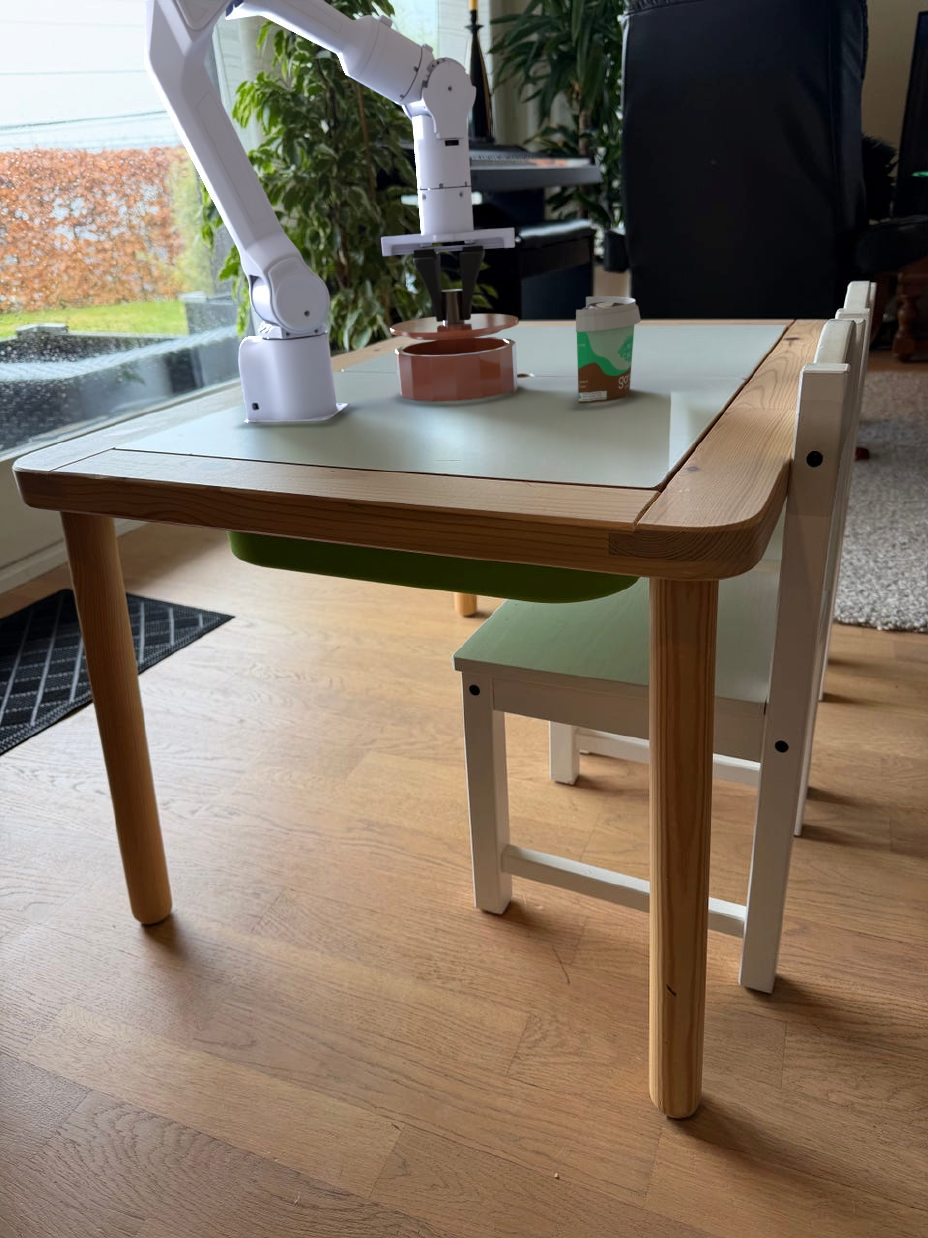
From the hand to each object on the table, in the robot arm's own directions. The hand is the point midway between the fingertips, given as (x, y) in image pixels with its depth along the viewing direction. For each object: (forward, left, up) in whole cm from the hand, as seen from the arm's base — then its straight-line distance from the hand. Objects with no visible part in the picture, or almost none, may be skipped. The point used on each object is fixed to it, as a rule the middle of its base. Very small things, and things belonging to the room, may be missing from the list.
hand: (453, 319), depth 107 cm
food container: (+18, -5, -8) cm, 20 cm away
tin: (0, 0, -8) cm, 8 cm away
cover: (0, 0, -1) cm, 1 cm away
